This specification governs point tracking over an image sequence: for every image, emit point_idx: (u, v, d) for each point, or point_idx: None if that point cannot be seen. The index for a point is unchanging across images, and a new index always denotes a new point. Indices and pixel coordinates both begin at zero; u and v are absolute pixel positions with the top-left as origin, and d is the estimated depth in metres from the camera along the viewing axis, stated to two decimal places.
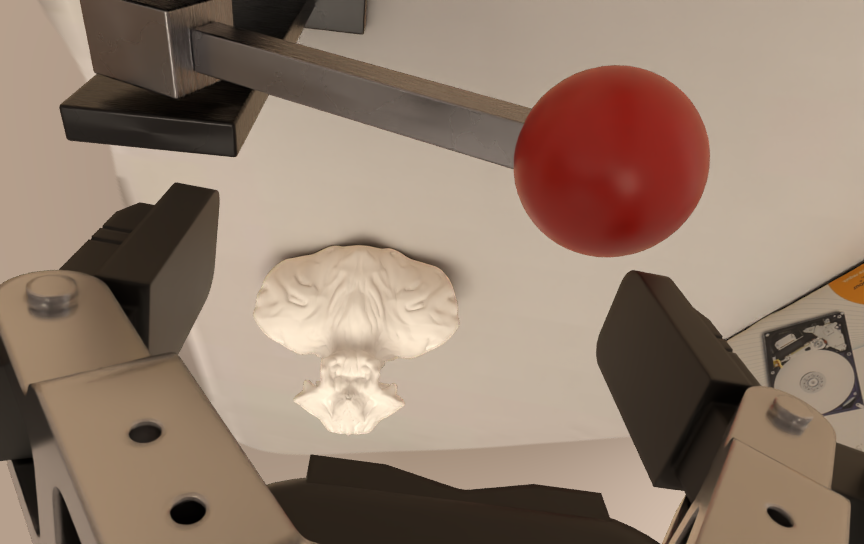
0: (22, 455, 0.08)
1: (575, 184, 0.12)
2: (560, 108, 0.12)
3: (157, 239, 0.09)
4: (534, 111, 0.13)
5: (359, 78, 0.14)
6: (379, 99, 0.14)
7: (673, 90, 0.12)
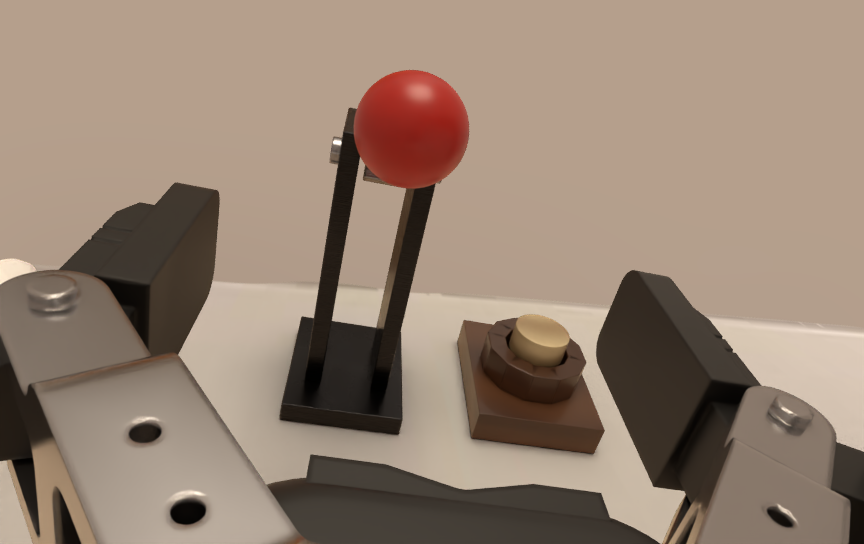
0: (22, 455, 0.08)
1: None
2: None
3: (157, 239, 0.09)
4: None
5: None
6: None
7: (467, 136, 0.22)
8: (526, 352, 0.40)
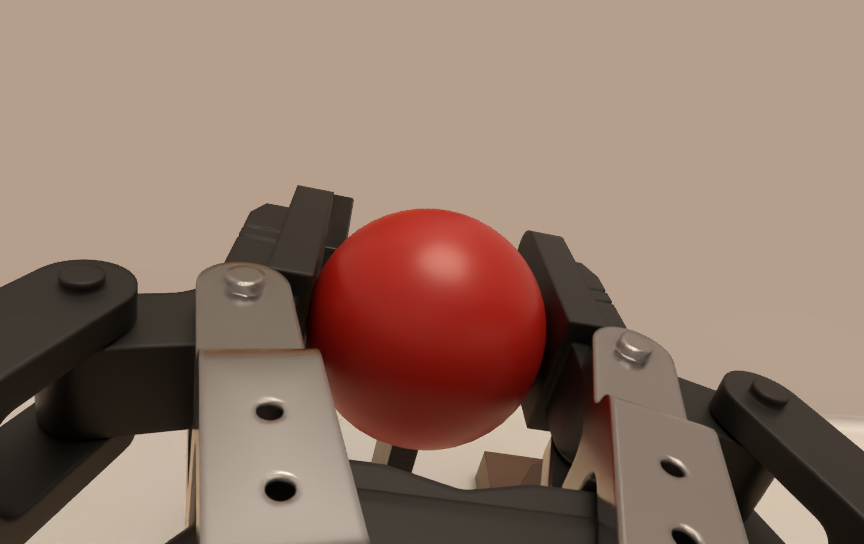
0: None
1: None
2: None
3: (304, 236, 0.10)
4: None
5: None
6: None
7: (544, 349, 0.10)
8: None
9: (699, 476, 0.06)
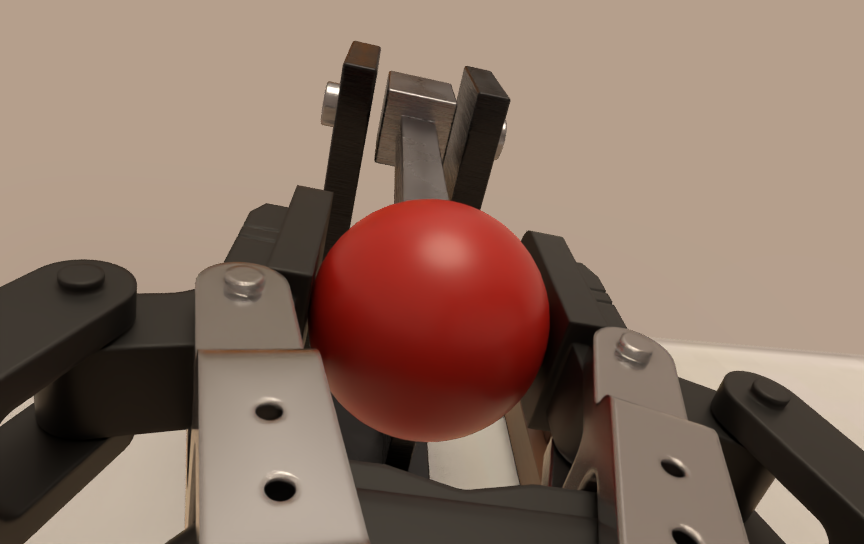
0: None
1: (470, 209, 0.10)
2: None
3: (303, 236, 0.10)
4: None
5: (444, 175, 0.16)
6: (432, 181, 0.15)
7: None
8: None
9: (699, 476, 0.06)
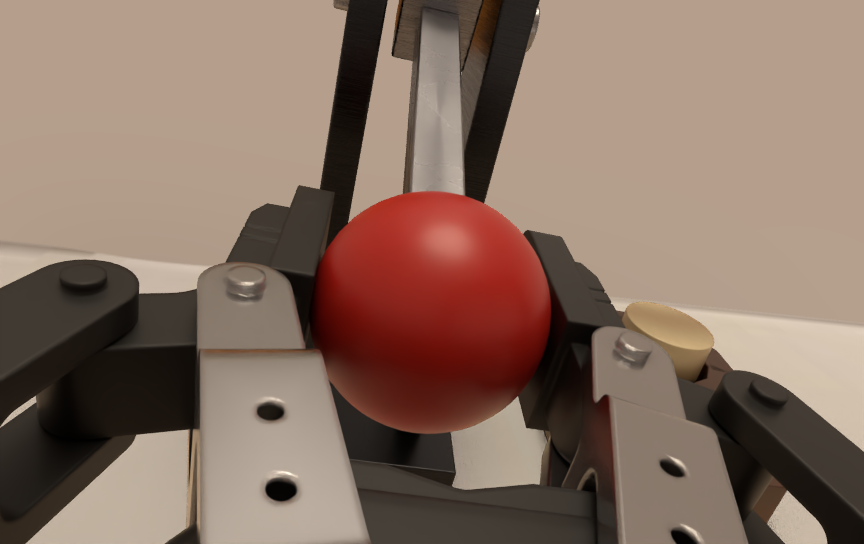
0: None
1: (476, 216, 0.10)
2: None
3: (305, 236, 0.10)
4: None
5: (461, 106, 0.14)
6: (447, 116, 0.14)
7: None
8: None
9: (698, 476, 0.06)
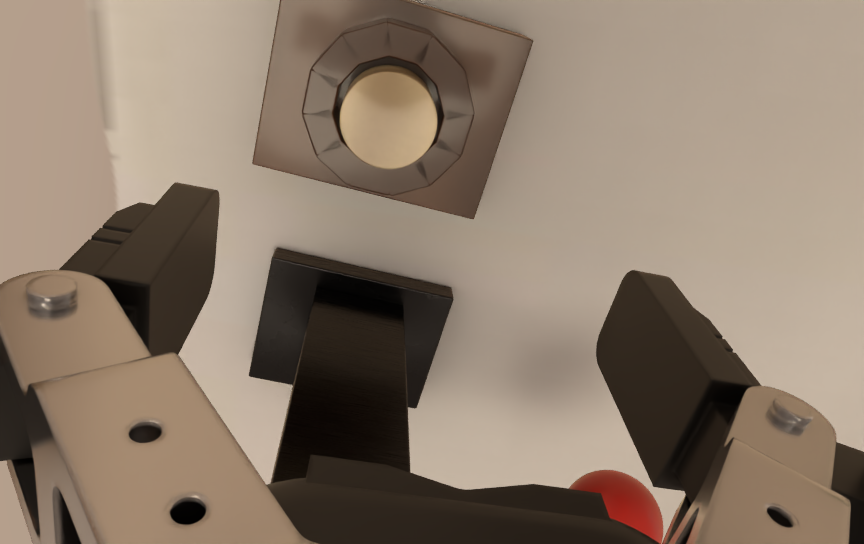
0: (22, 455, 0.08)
1: None
2: None
3: (157, 239, 0.09)
4: None
5: None
6: None
7: (644, 487, 0.25)
8: None
9: (809, 533, 0.06)
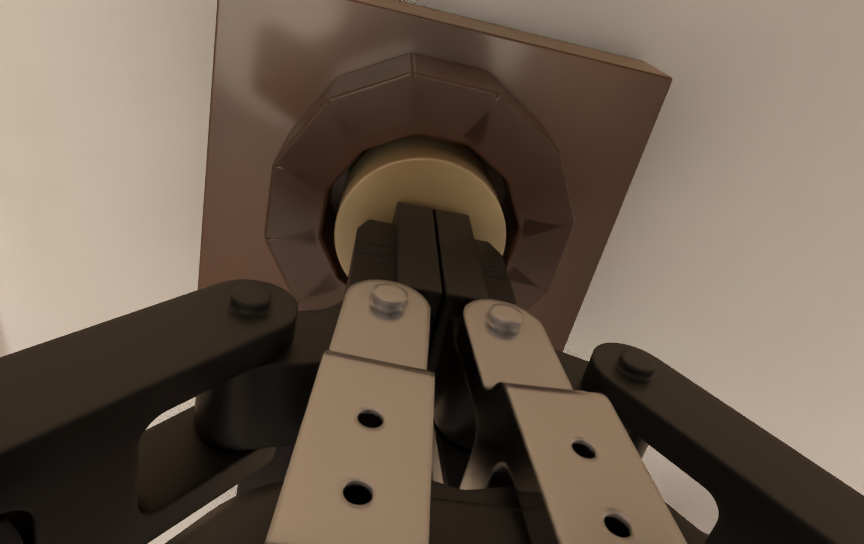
0: None
1: None
2: None
3: (421, 253, 0.11)
4: None
5: None
6: None
7: None
8: None
9: (608, 451, 0.06)
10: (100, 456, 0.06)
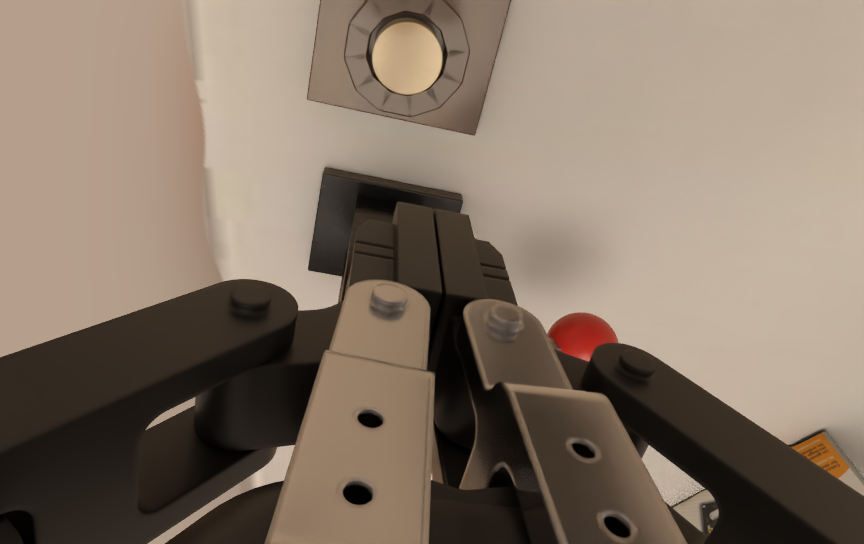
0: None
1: None
2: (584, 342, 0.33)
3: (421, 253, 0.11)
4: (568, 343, 0.33)
5: None
6: None
7: (604, 321, 0.34)
8: None
9: (608, 451, 0.06)
10: (100, 456, 0.06)
